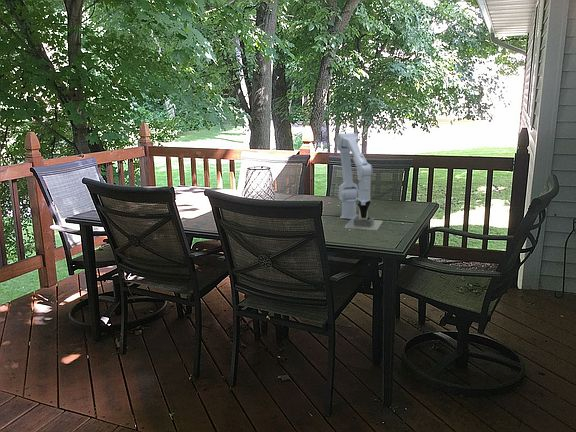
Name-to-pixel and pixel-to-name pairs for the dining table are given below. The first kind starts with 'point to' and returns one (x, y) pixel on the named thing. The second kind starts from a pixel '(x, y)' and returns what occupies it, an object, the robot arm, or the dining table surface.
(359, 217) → the plug
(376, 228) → the socket
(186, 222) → the dining table surface
